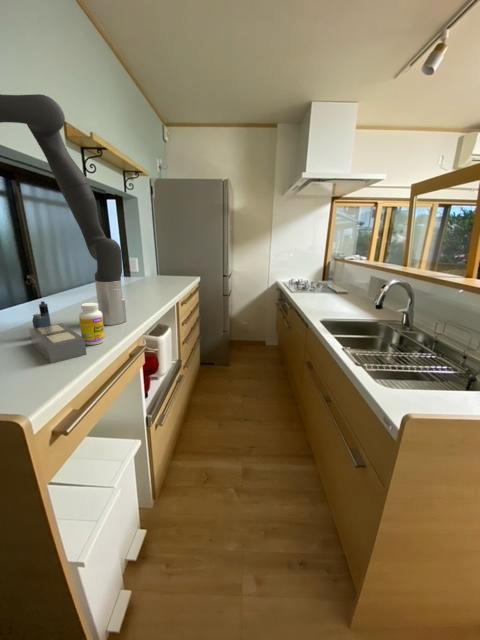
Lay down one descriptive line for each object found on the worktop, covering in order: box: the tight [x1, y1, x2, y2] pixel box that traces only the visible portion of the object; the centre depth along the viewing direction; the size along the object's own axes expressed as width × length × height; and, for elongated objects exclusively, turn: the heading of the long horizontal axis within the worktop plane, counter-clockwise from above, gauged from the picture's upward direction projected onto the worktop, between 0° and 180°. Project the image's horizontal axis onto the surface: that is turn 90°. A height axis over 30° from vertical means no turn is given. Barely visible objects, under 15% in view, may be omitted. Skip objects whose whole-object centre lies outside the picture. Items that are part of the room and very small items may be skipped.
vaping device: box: [32, 301, 52, 328], centre depth 90 cm, size 3×5×12 cm, turn 161°
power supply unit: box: [28, 323, 88, 364], centre depth 82 cm, size 9×20×5 cm, turn 48°
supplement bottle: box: [78, 302, 106, 346], centre depth 87 cm, size 7×7×13 cm
